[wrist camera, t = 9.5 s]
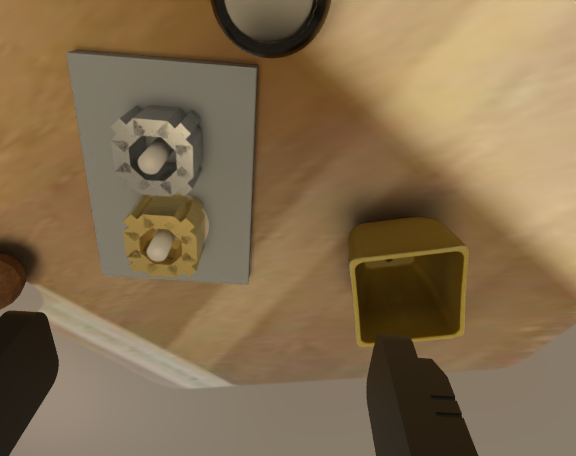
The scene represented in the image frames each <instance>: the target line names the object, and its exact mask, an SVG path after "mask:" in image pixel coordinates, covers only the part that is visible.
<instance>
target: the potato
mask: <svg viewBox="0 0 576 456" xmlns="http://www.w3.org/2000/svg"><path fill="white" fill-rule="evenodd" d="M25 283H26V269H25V268H24V267H23V265H22V264H21V263H20V261H18V260H16V259H15V258H13V257H11V256H9V255H6V254H1V253H0V309H2V308H4V307H6V306H8V305H9V304H11V303H13V302H14V301H15V299H16V298H17V297H18V296H19V295H20V293H21V291H22V289H23V287H24V285H25Z"/></svg>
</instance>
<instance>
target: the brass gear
mask: <svg viewBox="0 0 576 456" xmlns="http://www.w3.org/2000/svg"><path fill="white" fill-rule="evenodd" d="M203 206H204V204H203V203H202V202H201V201H200V200H199V199H198V198H197V197H195V198H194V199H192V200H190V199H188V198H187V197H186V196H183V195H175V194H174V195H173V196H172V197H171V196H158V195H154V196H153V197H152V198H151V197H150V196H149V195H144V196H142V197H141V198H140V199H139V200H138V202H137V203H136V204H135V206H134V207H133V208H132V210H131V211H130V213H129V214H128V215H127V217H126V218H125V219H124V221H123V222H124V223H125V224H126V225H127V227H126V229H125V230H124V231H123V234H124V242H125V250H126V257H127V258H128V259H129V260H131V263H130V265H129V266H128V267H130V268H131V269H132V270H133V271H135V272H136V273H137V274H138V273H139V272H141V271H142V270H143V271H144V272H145V273H147V274H148V275H151V276H166V277H178V276H180V275H181V274H182V273H184V274H185V275H186V276H187V277H189V276H191V275H192V274H193V273H195V272H196V271H197V268H198V265H199V262H200V259H201V256H202V253H203V250H204V247H205V246H204V245H203V243H204V240H205V214H204V213H203V212H202V209H203ZM154 229H168V230H169V231H171V232H172V233H173V234H174V235H175V236H176V237H177V238H179V239H180V240H181V241H180V240H174V242H173V244H172V246H171V248H170V250H169V253H168V255H167V257H166V258H165V259H164V260H163V261H154V260H152V259H150V258H149V257H148V255H147V249H148V247H149V245H150V243H151V241H152V239H153V238H154V236H155V234H156V232H157V231H156V230H154Z"/></svg>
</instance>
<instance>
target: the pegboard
mask: <svg viewBox="0 0 576 456" xmlns="http://www.w3.org/2000/svg"><path fill="white" fill-rule="evenodd" d="M66 54H67V60H68V66H69V72H70V78H71V84H72V91H73V97H74V103H75V109H76V115H77V121H78V128H79V134H80V140H81V146H82V152H83V158H84V165H85V171H86V177H87V183H88V189H89V195H90V202H91V208H92V214H93V220H94V226H95V232H96V239H97V245H98V251H99V257H100V263H101V269H102V275H108V276H123V277H138V278H154V279H169V280H184V281H199V282H215V283H230V284H245V285H248V282H249V274H250V249H251V224H252V199H253V174H254V149H255V124H256V99H257V74H258V65H252V64H240V63H228V62H216V61H203V60H191V59H179V58H167V57H154V56H142V55H130V54H118V53H105V52H93V51H81V50H74V51H70V52H66ZM136 105H138V106H139V107H140V108H141V109H142V110H143V109H145V108H146V107H147V106H148V105H157V106H170V107H180V108H181V109H182V110H183V111H184V112H185V113H186V114H188V113H189V112H190V111H191V110H193V111H194V112H195V113H196V114H197V115H198V116H199V117H200V118H201V120H200V122H199V123H198V126H199V127H200V128H201V129H202V130H203V160H202V162H201V164H200V167H201V168H202V171H201V173H200V175H199V178H198V180H197V182H196V184H195V186H194V188H193V189H192V190H191V191H190V192H189V193H187V194H186V195H185V196H186V197H187V198H188V199H190V200H192V199H194V198H195V197H197V198H198V199H199V200H200V201H201V202H202V203H203V204H204V206H203V209H202V212H203V213H204V214H205V240H204V243H203V245H204V246H205V247H204V250H203V253H202V256H201V259H200V262H199V265H198V268H197V271H196V272H195V273H193V274H192V275H191V276H189V277H187V276H186V275H185V274H184V273H182V274H181V275H180V276H178V277H166V276H151V275H148V274H147V273H145V272H144V271H143V270H142V271H141V272H139V273H138V274H137V273H136V272H135V271H133V270H132V269H131V268H130V267H128V266H129V265H130V263H131V260H129V259H128V258H127V257H126V250H125V242H124V234H123V231H124V230H125V229H126V227H127V225H126V224H125V223H124V222H123V221H124V219H125V218H126V217H127V215H128V214H129V213H130V211H131V210H132V208H133V207H134V206H135V204H136V203H137V202H138V200H139V199H140V198H141V197H142V196H144V194H139V193H138V192H137V191H136V190H135V189H134V188H132V189H131V190H130V191H129V192H127V191H125V190H124V189H123V188H122V187H121V186H120V185H119V184H118V182H119V181H120V180H121V179H122V178H121V177H120V176H119V175H118V174H117V173H116V172H115V169H114V161H113V153H112V145H111V140H112V139H113V138H114V137H115V136H116V134H117V133H116V132H114V131H113V130H112V129H111V128H110V127H111V126H112V125H113V124H114V123H115V122H116V121H117V120H118V119H119V118H120V117H122V116H123V115H124V114H126V113H127V112H128V111H130V110H131V109H132V108H134V107H135V106H136ZM145 137H146V148H147V149H146V150H145V151H144V152H143V153H142V155H141V156H140V157H139V159H138V165H139V168H140V169H141V170H142V171H143V172H144V173H147V174H155V173H157V172H158V171H159V170H160V169H161V167H162V166H163V165H164V163H165V162H174V163H177V160H176V151H175V150H174V149H173V148H172V147H171V146H170V145H169V144H168V143H167V142H166V141H165V140H164V139H163V138H162V137H152V136H145ZM175 195H182V194H181V193H180V192H179V191H178V192H176V193H175ZM149 196H150V197H151V198H152V197H153V196H154V195H149ZM154 230H156V231H157V232H156V234H155V236H154V238H153V239H152V241H151V243H150V245H149V247H148V249H147V255H148V257H149V258H150V259H152V260H154V261H163V260H164V259H165V258H166V257H167V255H168V253H169V250H170V248H171V246H172V244H173V242H174V240H180V239H179V238H177V237H176V236H175V235H174V234H173V233H172V232H171V231H169V230H168V229H154ZM180 241H181V240H180Z"/></svg>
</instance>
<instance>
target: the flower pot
mask: <svg viewBox="0 0 576 456" xmlns="http://www.w3.org/2000/svg"><path fill="white" fill-rule="evenodd" d="M387 259H391V260H389V261H388V260H387ZM468 262H469V248H468V247H467V246H466V245H465V244H464V243H463V242H462V241H461V240H460V239H459V238H458V237H457V236H456V235H454V234H453V233H452V232H451V231H450V230H449V229H448V228H447V227H446V226H444V225H443V224H442V223H440V222H438V221H436V220H434V219H430V218H424V217H409V218H401V219H393V220H385V221H376V222H368V223H363V224H360V225H357V226H355V227H354V228H353V229H352V230H351V232H350V235H349V270H350V278H351V286H352V297H353V308H354V319H355V332H356V342H357V344H358V346H359V347H371V346H374V344H375V339H376V336H377V334H396V335H409V336H410V337H411V339H412V342H417V341H428V340H439V339H450V338H455V337H459V336H462V335H463V334H464V330H465V300H466V285H467V274H468Z"/></svg>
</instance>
